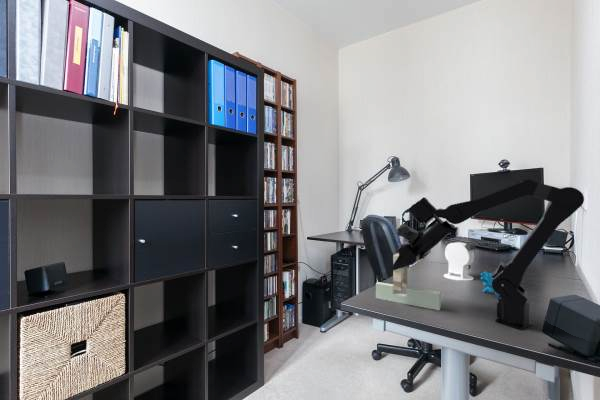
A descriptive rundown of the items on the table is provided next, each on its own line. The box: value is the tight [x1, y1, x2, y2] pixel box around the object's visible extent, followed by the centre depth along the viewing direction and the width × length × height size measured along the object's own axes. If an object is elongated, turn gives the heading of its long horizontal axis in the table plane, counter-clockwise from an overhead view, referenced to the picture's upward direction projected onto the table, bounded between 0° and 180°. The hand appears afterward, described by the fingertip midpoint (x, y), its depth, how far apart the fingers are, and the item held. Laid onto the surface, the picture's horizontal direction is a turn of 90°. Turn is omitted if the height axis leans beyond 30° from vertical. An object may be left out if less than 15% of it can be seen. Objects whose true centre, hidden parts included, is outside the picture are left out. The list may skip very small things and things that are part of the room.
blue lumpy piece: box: [480, 270, 500, 297], centre depth 111 cm, size 11×6×10 cm
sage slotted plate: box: [375, 281, 442, 311], centre depth 101 cm, size 20×2×5 cm, turn 55°
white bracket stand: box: [443, 240, 477, 282], centre depth 133 cm, size 12×11×15 cm
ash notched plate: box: [392, 252, 408, 292], centre depth 102 cm, size 7×2×11 cm, turn 145°
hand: (396, 266), depth 103 cm, fingers closed on ash notched plate, 7 cm apart
